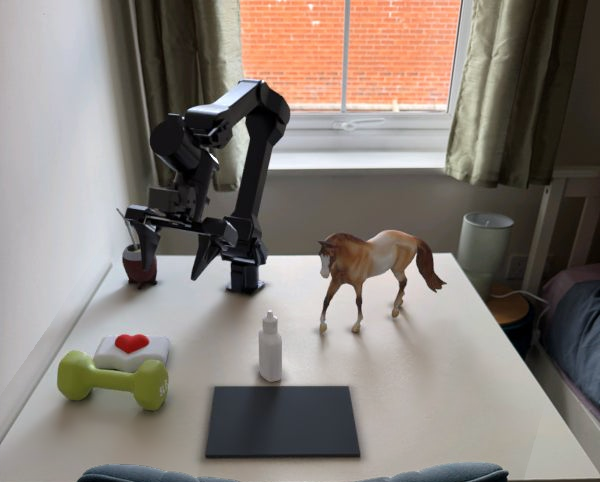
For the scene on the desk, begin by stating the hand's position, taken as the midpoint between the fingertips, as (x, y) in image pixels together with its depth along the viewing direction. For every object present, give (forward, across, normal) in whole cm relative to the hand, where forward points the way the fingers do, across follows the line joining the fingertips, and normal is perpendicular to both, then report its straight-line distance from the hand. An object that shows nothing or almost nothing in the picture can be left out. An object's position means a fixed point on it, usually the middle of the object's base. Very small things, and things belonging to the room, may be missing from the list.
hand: (168, 275), depth 99 cm
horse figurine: (-3, +32, +28) cm, 42 cm away
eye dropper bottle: (+12, +19, +9) cm, 24 cm away
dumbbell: (+22, -1, -4) cm, 22 cm away
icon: (+16, -5, +4) cm, 17 cm away
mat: (+18, +26, 0) cm, 32 cm away
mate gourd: (-2, -22, +26) cm, 34 cm away
